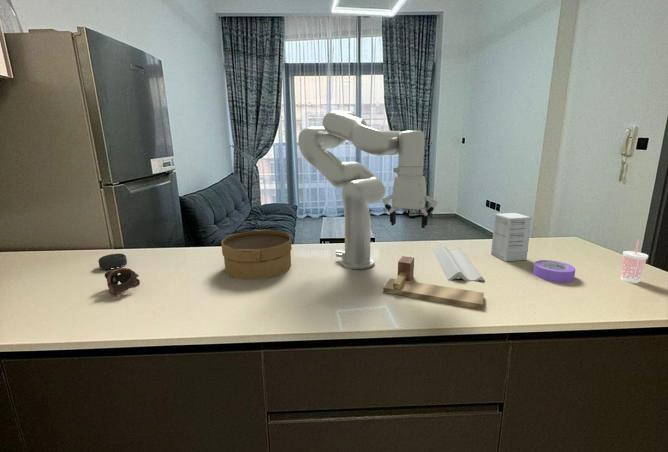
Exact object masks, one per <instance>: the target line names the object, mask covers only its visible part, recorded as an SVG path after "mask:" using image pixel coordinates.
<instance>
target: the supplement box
mask: <svg viewBox="0 0 668 452" xmlns="http://www.w3.org/2000/svg"><path fill="white" fill-rule="evenodd" d="M493 219H494V221H493V229H492V231H493V232H492V242H491V250H490V251H491V253H490V254H491V255H492V256H494V257H496V258H498V259H500V260H502V261H504V262H516V261H527V258H528V250H529V241H530V236H531V235H530V234H531V225H532V217H531V216H528V215H524V214H522V213H517V212H507V213H505V212H504V213H494V218H493Z"/></svg>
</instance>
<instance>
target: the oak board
mask: <svg viewBox="0 0 668 452" xmlns="http://www.w3.org/2000/svg"><path fill="white" fill-rule="evenodd" d="M395 280H396V278H392V277H391V278H390V277H389V279H388V280H387V282H386V284H384V285H383V289H382V292H383V293H387V294H391V295H392V294H393V295H399V296H404V297H409V298H416V299H420V300H427V301H432V302H438V303H442V304H443V303H444V304H448V305H454V306H462V307H466V308H473V309H478V310H483V309H484V296H485V295H484V294H485V293H484V292H481V291H477V290H476V291H474V290H468V289H464V288H463V289H462V288H457V287H456V288H455V287H449V286H445V285H444V286H443V285H437V284H430V283H424V282H419V281H418V282H417V281H412V280H411V281H406V280H405V281H404V283H403V284H402V286H401V287H400V289H396V288H393V283H394V281H395Z"/></svg>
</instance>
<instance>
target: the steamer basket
mask: <svg viewBox="0 0 668 452" xmlns="http://www.w3.org/2000/svg"><path fill="white" fill-rule="evenodd" d="M292 249H293V248H292V236H291V235H290V234H288V233H286V232H283V231H279V230H251V231H244V232H239V233H235V234H231V235H229V236H227V237H225V238H223V239H222V240H221V252H222V253H221V255H222V256H223V261H224V271H225V274H226V275H227V274H228V275H227V276H228V277H230V278H233V279H238V280H261V279H263V278H264V279H268V278H273V276H274V277H277V276H279V275H282V274H284V273H286V272H288V271H289V270H290V268H291V267H292V255H291V254H292V253H291V251H292ZM287 270H288V271H287Z"/></svg>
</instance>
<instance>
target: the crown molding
mask: <svg viewBox="0 0 668 452" xmlns="http://www.w3.org/2000/svg"><path fill="white" fill-rule="evenodd" d="M432 252H433V254H434V256H435V258H436V260H437V262H438V264H439V266H440V268H441V270H442V272H443V274H444V276H445V278H446V279H447V280H448V281H453V280H456V279H457V280H459V279H462V280H464V281H466V282H479V281H483V282H485V280H486V279H484V277H483V276H482V275H481V273H480V272H479V270H477V268H476V267H475V265H473V262H472V261H471V260H470V259H469V258H468V257H467V255H466V254H465V253H464V251H463V250H462V249H461V248H460V247H459V246H458V247H457V248H456V249H453V250H450V249H448V248H447V247H446V246H445V245H444V244H443V243H440V244H439V245H437V246H436V247H435V248H434V249H433V250H432Z"/></svg>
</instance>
